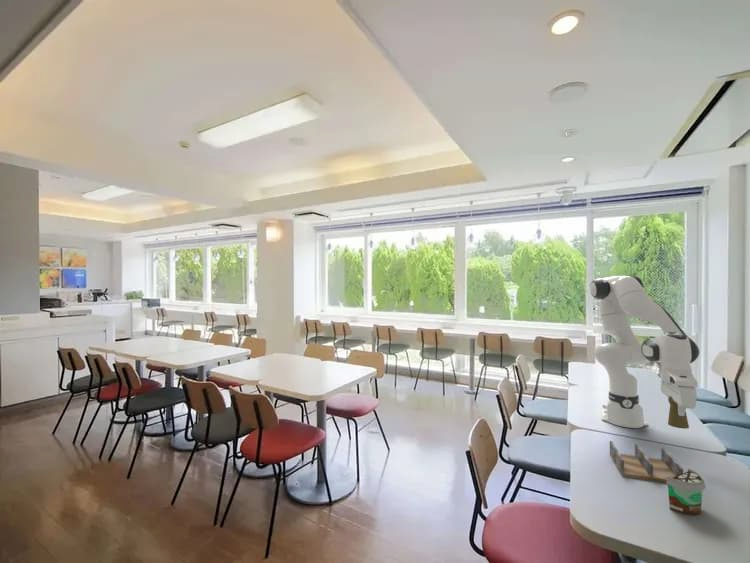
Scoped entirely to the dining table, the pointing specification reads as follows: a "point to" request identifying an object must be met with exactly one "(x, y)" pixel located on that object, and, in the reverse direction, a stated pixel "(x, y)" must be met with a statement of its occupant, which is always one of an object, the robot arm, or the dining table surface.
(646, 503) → the dining table surface
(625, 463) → the slot rack
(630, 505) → the dining table surface
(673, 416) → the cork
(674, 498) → the food container
